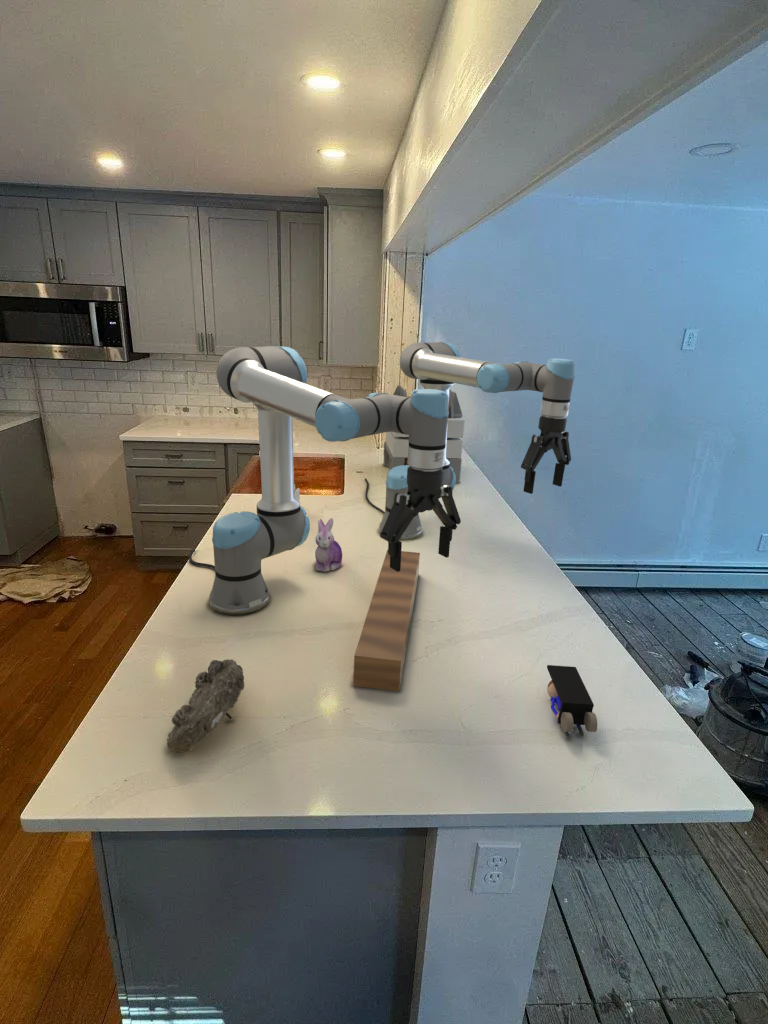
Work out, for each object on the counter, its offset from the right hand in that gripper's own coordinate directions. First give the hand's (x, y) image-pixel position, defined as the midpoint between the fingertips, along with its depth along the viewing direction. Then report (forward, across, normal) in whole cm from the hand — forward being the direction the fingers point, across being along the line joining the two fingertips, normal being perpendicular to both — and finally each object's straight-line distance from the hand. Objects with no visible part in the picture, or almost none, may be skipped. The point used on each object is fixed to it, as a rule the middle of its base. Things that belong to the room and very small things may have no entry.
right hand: (542, 488), depth 165 cm
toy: (+28, -41, +84) cm, 97 cm away
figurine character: (+27, -48, -47) cm, 72 cm away
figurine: (+27, -50, +37) cm, 68 cm away
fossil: (+27, -104, -7) cm, 108 cm away
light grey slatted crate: (+28, +44, +102) cm, 114 cm away
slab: (+27, -54, +2) cm, 60 cm away
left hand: (+4, -59, -13) cm, 60 cm away
